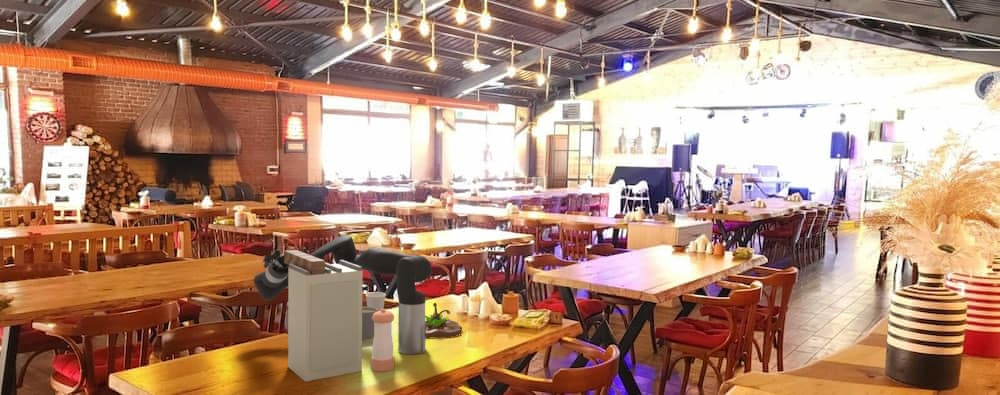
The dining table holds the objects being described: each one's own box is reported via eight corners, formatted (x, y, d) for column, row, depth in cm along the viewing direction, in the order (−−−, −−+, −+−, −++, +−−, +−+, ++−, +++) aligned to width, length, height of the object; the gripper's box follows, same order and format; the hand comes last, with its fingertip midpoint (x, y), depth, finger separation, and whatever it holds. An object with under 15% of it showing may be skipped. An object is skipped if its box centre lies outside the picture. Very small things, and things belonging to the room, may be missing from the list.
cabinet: (288, 367, 206) (288, 263, 204) (341, 357, 216) (342, 259, 214) (306, 382, 192) (306, 271, 190) (362, 371, 203) (363, 267, 201)
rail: (284, 262, 213) (284, 250, 213) (296, 261, 215) (296, 250, 215) (312, 275, 192) (312, 261, 192) (325, 273, 194) (325, 260, 194)
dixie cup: (375, 321, 266) (375, 297, 265) (361, 318, 270) (361, 294, 270) (389, 317, 273) (389, 293, 272) (375, 314, 277) (375, 291, 277)
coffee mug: (381, 337, 242) (381, 310, 242) (355, 340, 237) (355, 313, 237) (369, 328, 254) (369, 303, 253) (344, 331, 249) (344, 306, 248)
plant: (457, 324, 264) (457, 297, 264) (465, 337, 245) (465, 308, 245) (408, 326, 260) (408, 299, 260) (412, 339, 241) (412, 310, 240)
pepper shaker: (373, 363, 211) (374, 306, 209) (396, 364, 210) (396, 306, 209) (368, 371, 203) (369, 311, 202) (391, 371, 203) (392, 311, 202)
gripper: (256, 260, 221) (268, 242, 210) (297, 257, 230) (311, 239, 218) (259, 281, 219) (271, 263, 207) (300, 277, 227) (315, 260, 215)
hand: (292, 251), depth 213 cm, fingers open, 8 cm apart
